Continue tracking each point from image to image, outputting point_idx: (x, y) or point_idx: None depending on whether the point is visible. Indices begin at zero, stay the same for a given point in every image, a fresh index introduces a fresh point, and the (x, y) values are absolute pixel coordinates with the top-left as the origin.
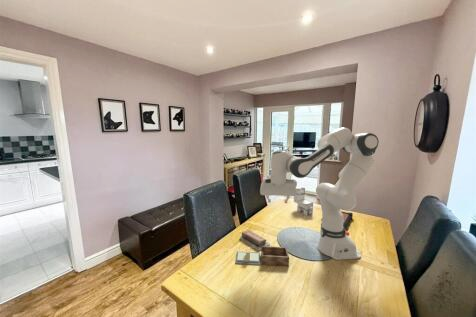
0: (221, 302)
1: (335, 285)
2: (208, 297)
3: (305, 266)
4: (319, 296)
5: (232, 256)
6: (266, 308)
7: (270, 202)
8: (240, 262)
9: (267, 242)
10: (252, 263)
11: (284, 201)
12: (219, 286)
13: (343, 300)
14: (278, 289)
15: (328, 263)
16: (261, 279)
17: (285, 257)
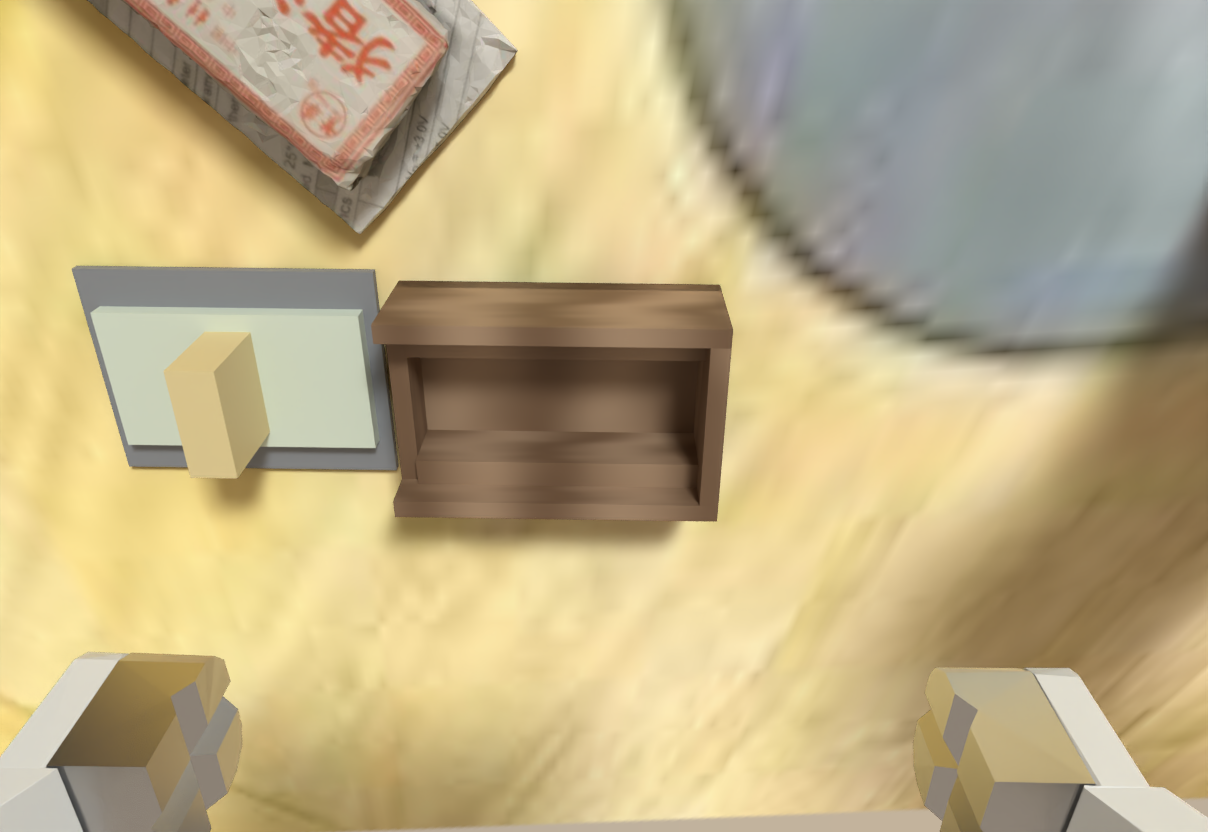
0: None
1: (1046, 641)
2: None
3: (887, 452)
4: (857, 727)
5: (52, 349)
6: (471, 808)
7: (234, 747)
8: (180, 454)
9: (475, 14)
10: (313, 460)
11: (945, 705)
12: None
13: None
14: (563, 694)
15: (1177, 393)
16: (426, 620)
17: (673, 518)
